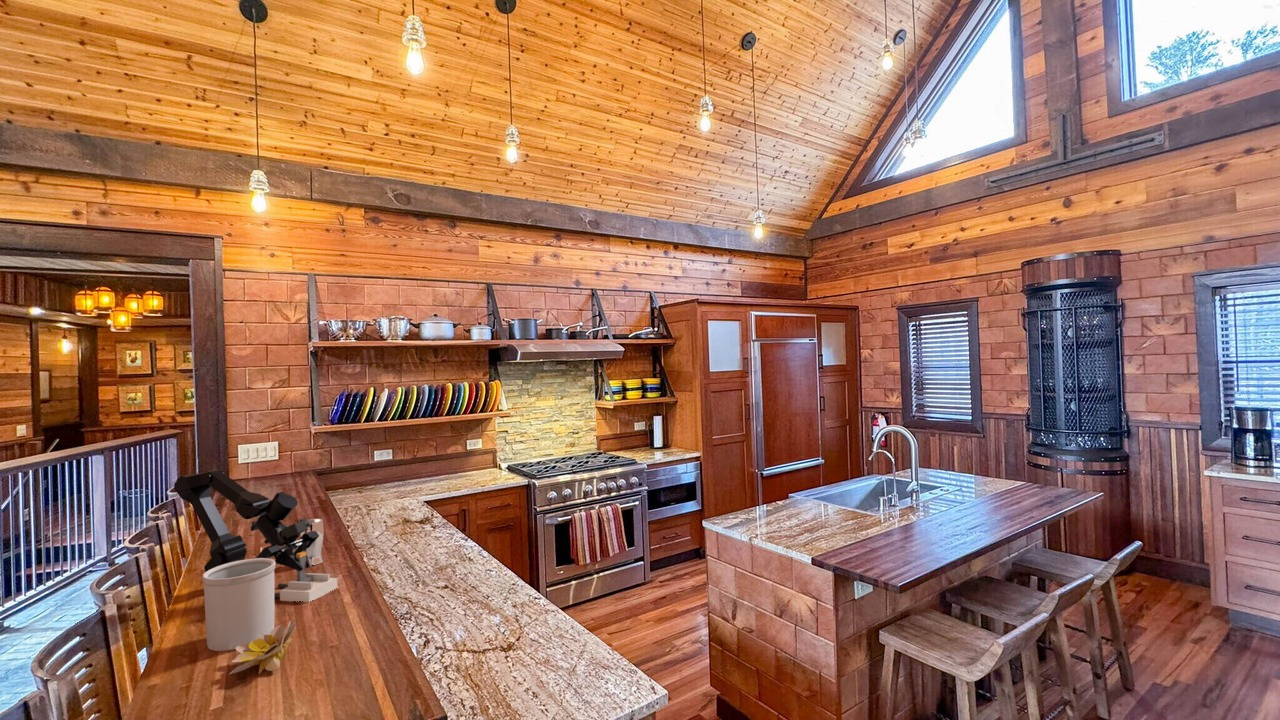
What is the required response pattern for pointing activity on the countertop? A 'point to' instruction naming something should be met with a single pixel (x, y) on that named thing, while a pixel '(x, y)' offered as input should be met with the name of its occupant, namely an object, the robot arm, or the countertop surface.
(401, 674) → the countertop surface
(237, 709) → the countertop surface
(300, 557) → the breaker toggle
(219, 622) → the utensil holder
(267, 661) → the decorative flower
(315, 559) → the beer glass
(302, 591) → the box
